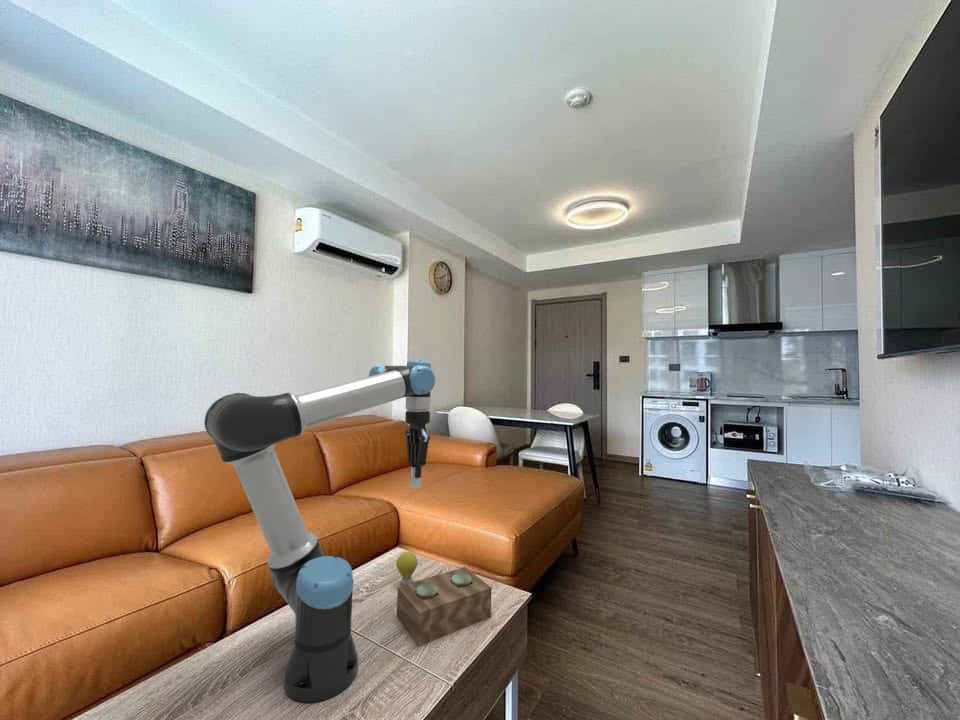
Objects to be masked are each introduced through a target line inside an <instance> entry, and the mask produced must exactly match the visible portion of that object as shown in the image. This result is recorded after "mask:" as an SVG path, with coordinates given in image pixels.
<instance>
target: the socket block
mask: <svg viewBox="0 0 960 720" xmlns="http://www.w3.org/2000/svg"><path fill="white" fill-rule="evenodd" d="M457 573H466V574H469V575H470V576H471V583H470V584H468V585H467V586H464V587H461V588H458V587H457V586H455V585H454V584H453V583H452V576H453V575H455V574H457ZM426 583H429V584H434V585H436V586H437V594H436V595H435V596H434V597H431V598H428V599H425V600H422V599H421V598H420V597H419V596H418V595H417V593H416V591H417V587H418V586H420V585H422V584H426ZM396 594H397V595H396V597H397V601H396V618H397V619H398V620H399V622H400V624H401V625H403V627H404V629H405V631H407V632H408V634H409V635H410V636H411V638H412V639H413V640H414V642H415V643H416V645H417V646H418V647H420V646H422V645H426V644H427V643H429V642H432V641H434V640H437V639H439V638H443V637H444V636H447V635H449V634H451V633H452V634H453V633H454V632H457V631H459V630H461V629H462V630H463V629H464V628H467V627H469V626H472V625H474V624H477V623H479V622H482V621H483V620H484V621H485V620H486V619H489V618H492V587H491V586H490V585H489V584H488V583H486V582H485V581H484V580H483V579H481V578H480V577H479V576H478V575H476V574H475V573H474V572H473V571H472V570H470V569H468V568H467V567H466V566H463V567H459V568H455V569H452V570H450V571H446V572H443V573H440V574H436V575H434V576H433V575H432V576H430V577H426V578H422V579H420V580H417V581H413V582H410V583H409V584H406V585H403V584H402V585H400V586H398V587H397V593H396Z"/></svg>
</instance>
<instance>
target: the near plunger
mask: <svg viewBox="0 0 960 720" xmlns="http://www.w3.org/2000/svg"><path fill="white" fill-rule="evenodd" d="M416 593H417V595H418V596H419V597H420V598H421V599H422V600H425V599H428V598H431V597H434V596H435V595H436V594H437V586H436V585H434V584H429V583H426V584H422V585H420V586H418V587H417V591H416Z"/></svg>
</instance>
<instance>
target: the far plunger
mask: <svg viewBox="0 0 960 720" xmlns="http://www.w3.org/2000/svg"><path fill="white" fill-rule="evenodd" d="M452 583H453V584H454V585H455V586H457V587H458V588H461V587H464V586H467V585H468V584H470V583H471V576H470V575H469V574H466V573H457V574H455V575H453V576H452Z"/></svg>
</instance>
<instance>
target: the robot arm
mask: <svg viewBox="0 0 960 720" xmlns="http://www.w3.org/2000/svg"><path fill="white" fill-rule="evenodd" d="M435 384H436V376H435V373H434V371H433V370H432V364H431V362H430V361H428V360H418V359H417V360H416V359H413V360H411V359H409V360H408V361H407V363H406V365H383V364H382V365H374V366H372V367H371V368H370V370H369V373H368V376H367V377H363V378H360V379H356V380H351V381H347V382H343V383H339V384H335V385H331V386H328V387H324V388H320V389H316V390H312V391H308V392H304V393H300V394H296V395H295V394H292V393H291V392H285V393H282V394H276V395H266V396H255V395H251V394H249V393H245V392H234V393H229V394H226V395H224V396H222V397H219V398H217V399H216V400H215V401H214V402H213V403H211V405H209V407H208V409H207V411H206V412H205V416H204V429H205V431H206V433H207V435H208V436H209V437H210V438H212V440H213V442H214V444H215V447H216V449H217V451H218V454H219V455H220V458H221V460H222V463H224V464H227V465H230V466H233V467H234V469H235V473H236V475H237V477H238V479H239V481H240V483H241V486H242V489H243V490H244V493H245V495H246V497H247V500H248V503H249V504H250V507H251V509H252V511H253V514H254V516H255V518H256V521H257V524H258V525H259V528H260V530H261V533H262V535H263V537H264V539H265V542H266V544H267V546H268V548H269V550H270V554H269V556H268V558H267V566H268V569H269V570H270V572H271V580H272V584H273V586H274V587H275V589H276V591H277V593H279V594H280V595H281V596H282V598H283V599H284V601H285V602H286V603H287V605H288V606H289V608H290V609H291V610H292V611H293V613H294V615H295V622H294V626H295V629H294V644H293V647H292V648H293V649H292V650H291V653H290V656H289V659H288V662H287V664H286V667H285V672H284V675H283V676H284V678H283V687H284V688H283V689H284V692H285V693H286V696H288V697H289V698H290V699H292V700H294V701H297V702H300V703H317V702H321V701H325V700H328V699H330V698H333V697H335V696H336V695H338V694H340V693H341V692H342V691H344V690H345V689H347V688H348V687H349V686H350V685H351V684H352V683H353V681H354V679H355V677H356V676H357V674H358V669H359V668H358V667H359V656H358V652H357V651H358V650H357V648H356V645H355V642H354V639H353V636H352V615H353V590H354V576H353V569H352V566H351V565H350V563H349V562H348V561H347V560H346V559H344V558H342V557H339V556H337V557H335V556H334V555H333V556H332V555H327V556H326V555H325V554H324V551H323V549H322V547H321V544H320V542H319V539H318V536H317V535H316V534H315V533H312V532H308V530H307V527H306V525H305V523H304V520H303V517H302V516H301V515H302V514H301V513H300V511H299V507H298V505H297V502H296V500H295V498H294V495H293V493H292V491H291V488H290V486H289V483H288V480H287V477H286V476H285V473H284V470H283V468H282V466H281V463H280V460H279V458H278V456H277V453H276V450H275V447H276V445H277V444H278V443H282V442H285V441H288V440H290V439H293V438H296V437H300V436H302V435H303V433H304V431H305V430H306V429H309V428H313V427H316V426H319V425H321V424H325V423H328V422H331V421H334V420H338V419H341V418H343V417H346V416H349V415H353V414H355V413H358V412H361V411H365V410H368V409H371V408H374V407H378V406H380V405H383V404H387V403H390V402H394V401H396V400H399V399H404V398H405V410H406V411H405V415H404V417H405V418H404V422H405V423H406V424H409V426H408V430H405V433H404V435H405V438H406V449H407V450H406V452H407V453H406V454H407V462H408V463H410V466H411V467H410V469H411V470H410V488H411V489H412V490H414V489H420V488H422V467H424V466H426V462H427V454H428V449H429V443H430V440H431V435H429V434H427V428H426V425H428V424H429V423H430V422H431V412H430V411H429V410H430V409H431V402H432V400H431V395H432V394H431V392H432V390H433V389H434V387H435V386H436V385H435Z"/></svg>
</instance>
